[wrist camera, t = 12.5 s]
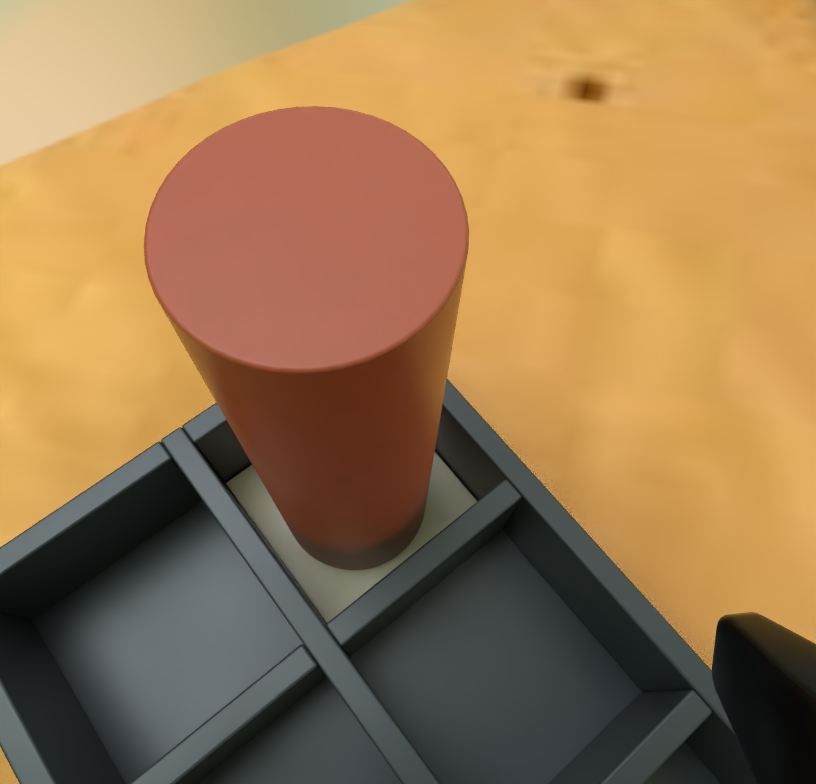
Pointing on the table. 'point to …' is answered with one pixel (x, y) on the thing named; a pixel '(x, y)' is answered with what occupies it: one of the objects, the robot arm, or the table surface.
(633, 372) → the table surface
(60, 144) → the table surface
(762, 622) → the robot arm
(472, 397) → the table surface
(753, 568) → the table surface
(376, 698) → the grid
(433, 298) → the reddish brown cylinder
